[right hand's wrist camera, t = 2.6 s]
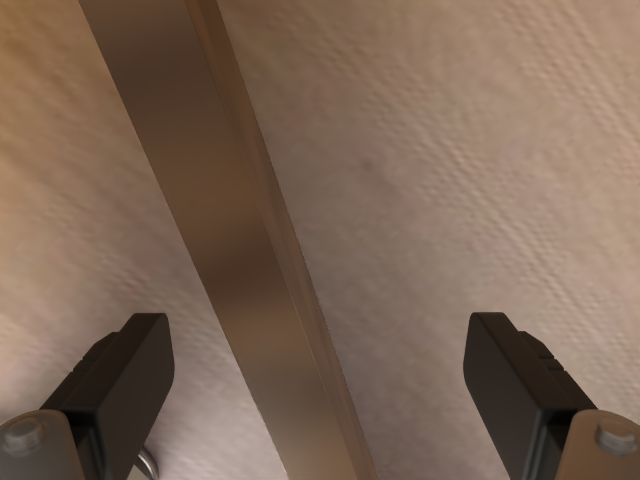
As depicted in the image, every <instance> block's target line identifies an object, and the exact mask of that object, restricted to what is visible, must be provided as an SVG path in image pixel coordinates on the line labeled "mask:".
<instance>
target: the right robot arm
mask: <svg viewBox="0 0 640 480" xmlns="http://www.w3.org/2000/svg"><path fill="white" fill-rule="evenodd" d="M174 368H175V366H174V357H173V350H172V343H171V336H170V329H169V322H168V318H167V316H166V314H165V313H135V314H133V315H132V316H131V317H130V319H129V320H128V321H127V323H126V324H125V325H124V326H123V328H122V329H121V330H120V331H119V332H112V333H110V334H109V335H107V336H106V337H104V338H103V339H101V340H99V341H98V342H96V343H95V344H94V345H93V346H92V347H91V348H90V350H89V351H88V352H87V353H86V354H85V356H84V357H83V360H80V361H79V363H78V364H77V365H76V366H75V367H74V369H73V372H70V373H69V375H68V376H67V377H66V378H65V379H64V380H63V382H62V383H61V384H60V385H59V386H58V388H57V389H56V390H55V391H54V392H53V394H52V395H51V396H50V397H49V398H48V399H47V401H46V402H45V403H44V404H43V405H42V407H41V408H40V409H39V410H36V411H32V412H28V413H25V414H22V415H20V416H17V417H15V418H13V419H11V420H9V421H7V422H6V423H4V424H3V425H1V426H0V480H158V471H157V467H156V464H155V462H154V460H153V459H152V457H151V456H150V454H149V453H148V452H147V451H146V450H145V449H144V448H143V445H144V443H145V441H146V439H147V436H148V434H149V432H150V430H151V428H152V426H153V424H154V422H155V420H156V418H157V416H158V413H159V411H160V409H161V407H162V405H163V403H164V401H165V399H166V397H167V395H168V393H169V391H170V388H171V386H172V383H173V378H174ZM463 371H464V378H465V383H466V386H467V388H468V390H469V392H470V394H471V396H472V399H473V401H474V403H475V405H476V407H477V409H478V411H479V413H480V416H481V418H482V420H483V422H484V424H485V426H486V428H487V430H488V432H489V435H490V437H491V439H492V441H493V443H494V445H495V447H496V449H497V451H498V454H499V456H500V458H501V460H502V462H503V464H504V466H505V468H506V470H507V473H508V475H509V477H510V479H511V480H640V426H639V425H637V424H636V423H634V422H633V421H631V420H629V419H627V418H625V417H623V416H620V415H618V414H615V413H612V412H608V411H604V410H598V408H597V407H596V406H595V405H594V404H593V402H592V401H591V400H590V399H589V398H588V396H587V395H586V394H585V393H584V392H583V390H582V389H581V388H580V387H579V386H578V384H577V383H576V382H575V381H574V380H573V378H572V377H571V376H570V375H569V374H568V372H567V371H564V368H563V366H562V365H561V364H560V363H559V362H558V360H557V359H554V356H553V355H552V353H551V352H550V351H549V350H548V349H547V347H546V346H545V345H544V344H543V343H542V342H541V341H539V340H538V339H536V338H535V337H533V336H531V335H530V334H528V333H527V332H525V331H518V330H517V329H516V328H515V326H514V325H513V324H512V323H511V321H510V320H509V319H508V317H507V316H506V315H505V314H504V313H502V312H474V313H472V314H471V316H470V320H469V326H468V333H467V340H466V347H465V355H464V362H463Z"/></svg>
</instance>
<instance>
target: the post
mask: <svg viewBox="0 0 640 480" xmlns="http://www.w3.org/2000/svg"><path fill="white" fill-rule="evenodd" d="M79 3H80V5H81V7H82V10H83V12H84V14H85V16H86V19H87V21H88V23H89V26H90V28H91V30H92V32H93V35H94V37H95V39H96V42H97V44H98V46H99V48H100V51H101V53H102V55H103V57H104V60H105V62H106V64H107V67H108V69H109V71H110V73H111V76H112V78H113V80H114V83H115V85H116V87H117V89H118V92H119V94H120V96H121V99H122V101H123V103H124V105H125V108H126V110H127V112H128V114H129V117H130V119H131V121H132V124H133V126H134V128H135V130H136V133H137V135H138V137H139V140H140V142H141V144H142V146H143V149H144V151H145V153H146V156H147V158H148V160H149V162H150V165H151V167H152V169H153V171H154V174H155V176H156V178H157V181H158V183H159V185H160V187H161V190H162V192H163V194H164V197H165V199H166V201H167V203H168V206H169V208H170V210H171V213H172V215H173V217H174V219H175V222H176V224H177V226H178V228H179V231H180V233H181V235H182V238H183V240H184V242H185V244H186V247H187V249H188V251H189V254H190V256H191V258H192V260H193V263H194V265H195V267H196V270H197V272H198V274H199V276H200V279H201V281H202V283H203V285H204V288H205V290H206V292H207V295H208V297H209V299H210V301H211V304H212V306H213V308H214V311H215V313H216V315H217V317H218V320H219V322H220V324H221V327H222V329H223V331H224V333H225V336H226V338H227V340H228V342H229V345H230V347H231V349H232V352H233V354H234V356H235V358H236V361H237V363H238V365H239V368H240V370H241V372H242V374H243V377H244V379H245V381H246V384H247V386H248V388H249V390H250V393H251V395H252V397H253V399H254V402H255V404H256V406H257V409H258V411H259V413H260V415H261V418H262V420H263V422H264V425H265V427H266V429H267V431H268V434H269V436H270V438H271V441H272V443H273V445H274V447H275V450H276V452H277V454H278V456H279V459H280V461H281V463H282V466H283V468H284V470H285V472H286V475H287V477H288V479H289V480H379V479H378V476H377V473H376V470H375V467H374V464H373V461H372V458H371V455H370V452H369V449H368V446H367V443H366V440H365V437H364V434H363V431H362V429H361V426H360V423H359V420H358V417H357V414H356V411H355V408H354V405H353V402H352V399H351V396H350V393H349V390H348V387H347V384H346V381H345V378H344V375H343V373H342V370H341V367H340V364H339V361H338V358H337V355H336V352H335V349H334V346H333V343H332V340H331V337H330V334H329V331H328V328H327V325H326V322H325V320H324V317H323V314H322V311H321V308H320V305H319V302H318V299H317V296H316V293H315V290H314V287H313V284H312V281H311V278H310V275H309V272H308V269H307V266H306V264H305V261H304V258H303V255H302V252H301V249H300V246H299V243H298V240H297V237H296V234H295V231H294V228H293V225H292V222H291V219H290V216H289V213H288V211H287V208H286V205H285V202H284V199H283V196H282V193H281V190H280V187H279V184H278V181H277V178H276V175H275V172H274V169H273V166H272V163H271V160H270V157H269V155H268V152H267V149H266V146H265V143H264V140H263V137H262V134H261V131H260V128H259V125H258V122H257V119H256V116H255V113H254V110H253V107H252V104H251V102H250V99H249V96H248V93H247V90H246V87H245V84H244V81H243V78H242V75H241V72H240V69H239V66H238V63H237V60H236V57H235V54H234V51H233V48H232V46H231V43H230V40H229V37H228V34H227V31H226V28H225V25H224V22H223V19H222V16H221V13H220V10H219V7H218V4H217V1H216V0H79Z"/></svg>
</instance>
